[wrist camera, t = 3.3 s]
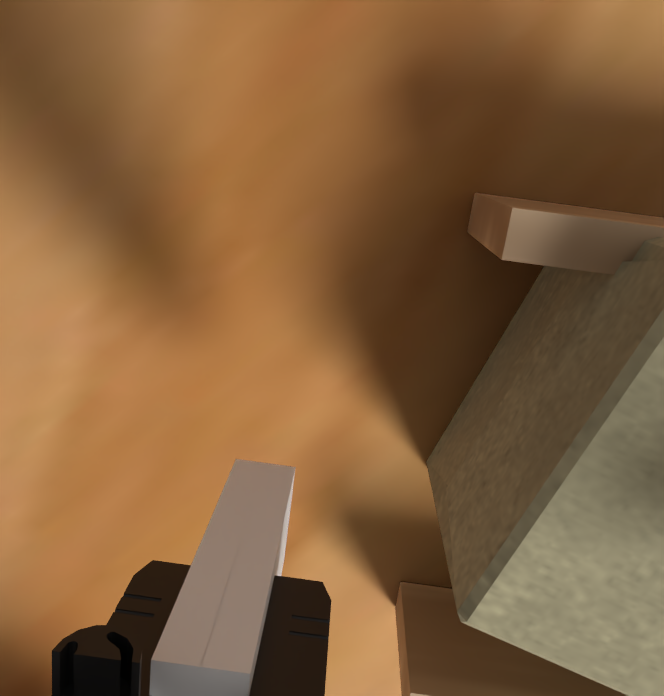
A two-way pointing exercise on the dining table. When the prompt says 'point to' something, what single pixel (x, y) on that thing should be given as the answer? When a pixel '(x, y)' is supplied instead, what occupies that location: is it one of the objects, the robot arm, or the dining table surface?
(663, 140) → the dining table surface
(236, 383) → the dining table surface
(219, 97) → the dining table surface
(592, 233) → the bay
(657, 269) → the tissue box
